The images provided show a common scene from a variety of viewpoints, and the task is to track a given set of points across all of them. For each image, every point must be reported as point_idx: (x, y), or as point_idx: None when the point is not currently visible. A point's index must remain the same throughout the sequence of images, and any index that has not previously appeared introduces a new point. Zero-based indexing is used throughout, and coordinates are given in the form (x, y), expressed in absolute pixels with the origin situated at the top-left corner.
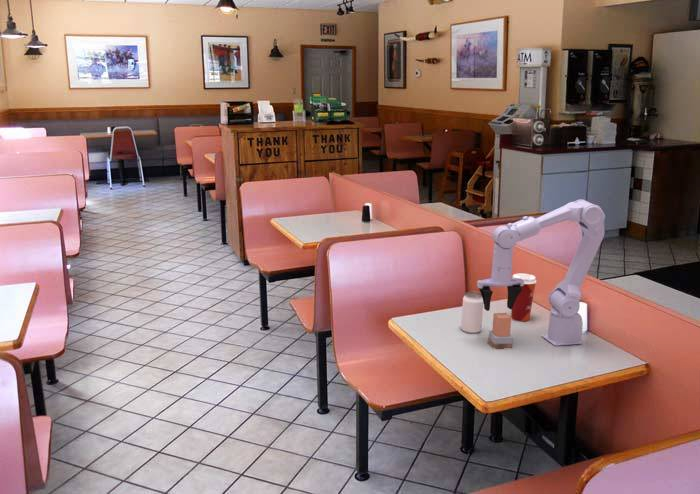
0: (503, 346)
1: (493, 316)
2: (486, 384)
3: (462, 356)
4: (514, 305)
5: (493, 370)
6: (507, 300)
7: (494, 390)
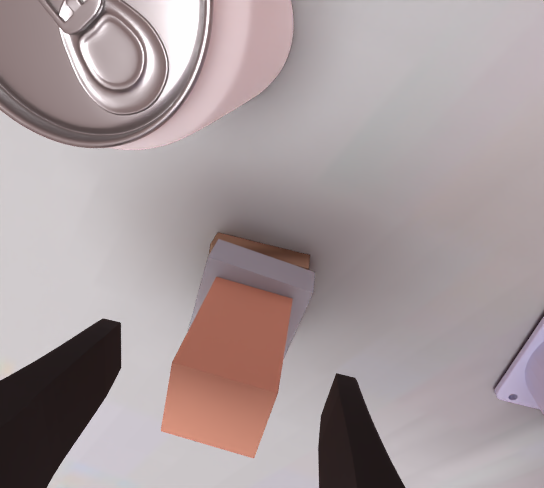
0: None
1: (181, 344)
2: None
3: (37, 300)
4: None
5: (107, 415)
6: (344, 423)
7: (58, 479)
